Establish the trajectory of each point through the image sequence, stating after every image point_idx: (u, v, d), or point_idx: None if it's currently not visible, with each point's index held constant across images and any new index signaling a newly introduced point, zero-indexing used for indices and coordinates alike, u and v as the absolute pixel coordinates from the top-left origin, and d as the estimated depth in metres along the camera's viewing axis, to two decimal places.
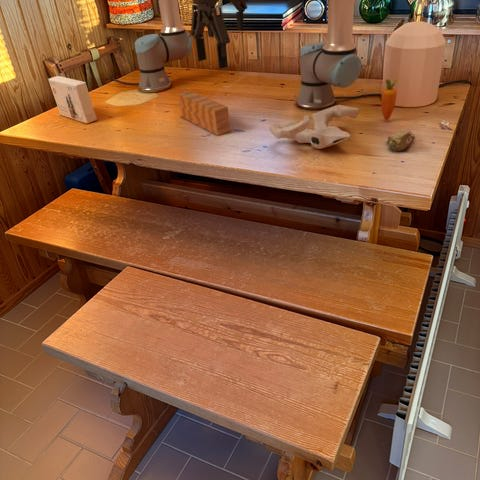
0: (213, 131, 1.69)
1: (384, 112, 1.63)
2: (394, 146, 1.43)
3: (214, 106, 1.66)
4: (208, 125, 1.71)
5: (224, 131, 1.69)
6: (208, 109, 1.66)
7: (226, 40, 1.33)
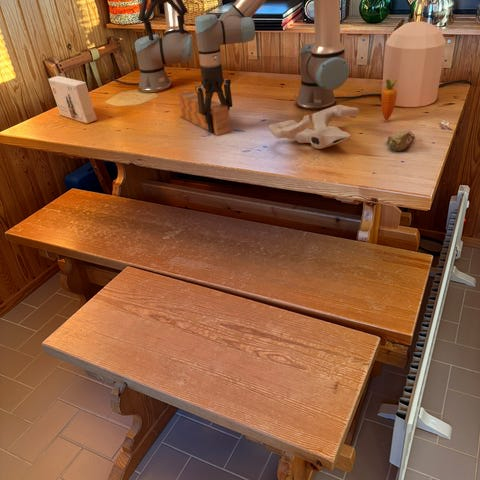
0: None
1: (384, 112, 1.63)
2: (394, 146, 1.43)
3: (214, 106, 1.66)
4: None
5: (224, 131, 1.69)
6: None
7: None
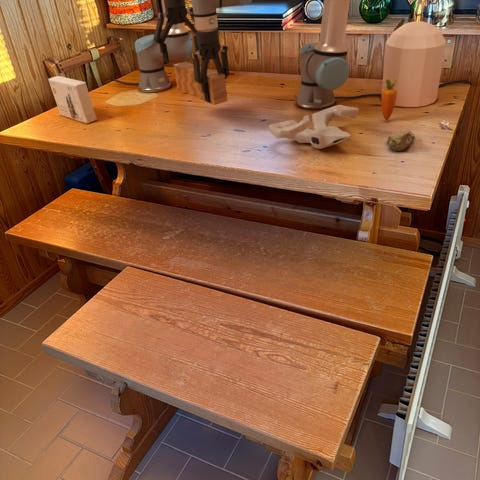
0: (210, 101, 1.63)
1: (384, 112, 1.63)
2: (394, 146, 1.43)
3: (210, 74, 1.60)
4: None
5: (221, 101, 1.62)
6: None
7: None
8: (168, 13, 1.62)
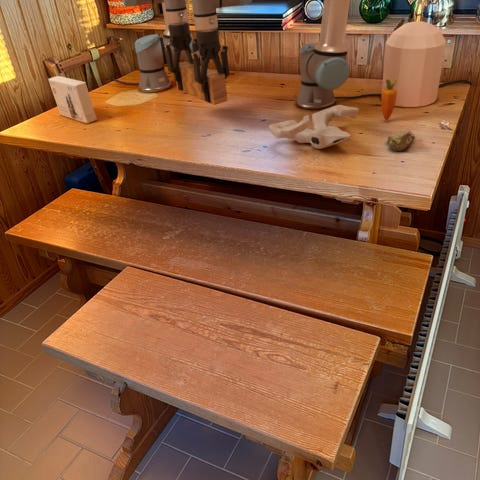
0: (210, 101, 1.63)
1: (384, 112, 1.63)
2: (394, 146, 1.43)
3: (210, 74, 1.60)
4: None
5: (221, 101, 1.62)
6: None
7: None
8: (173, 41, 1.67)
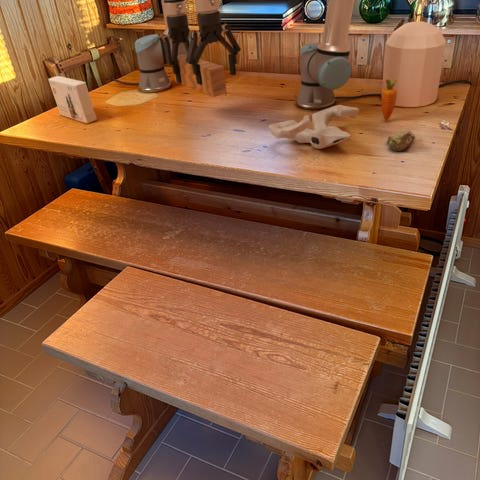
0: (209, 93, 1.62)
1: (384, 112, 1.63)
2: (394, 146, 1.43)
3: (209, 66, 1.59)
4: (203, 87, 1.64)
5: (220, 93, 1.61)
6: (203, 69, 1.58)
7: None
8: (171, 33, 1.65)
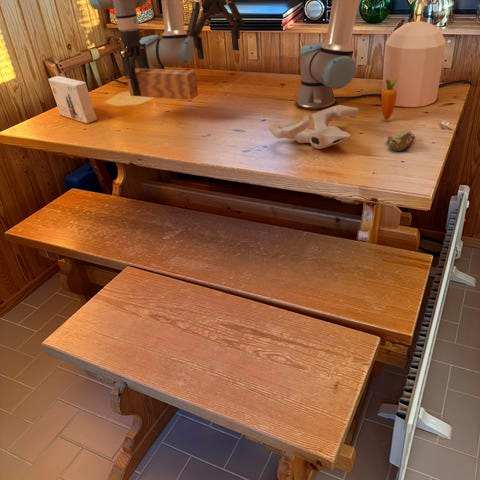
0: (184, 97, 1.72)
1: (384, 112, 1.63)
2: (394, 146, 1.43)
3: (181, 72, 1.70)
4: (175, 93, 1.73)
5: (194, 95, 1.74)
6: (177, 75, 1.69)
7: None
8: (128, 48, 1.70)
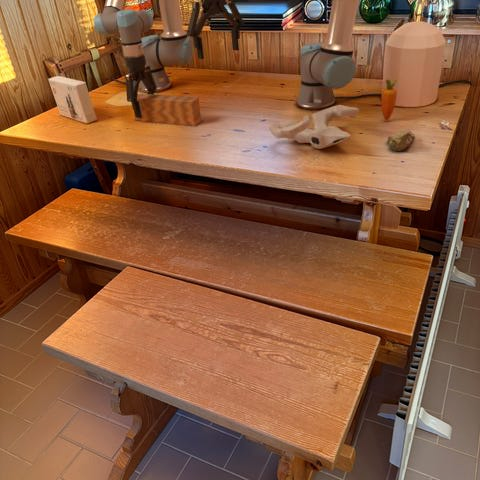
0: (188, 123, 1.78)
1: (384, 112, 1.63)
2: (394, 146, 1.43)
3: (185, 99, 1.76)
4: (179, 119, 1.79)
5: (198, 121, 1.80)
6: (181, 103, 1.75)
7: None
8: (134, 72, 1.75)
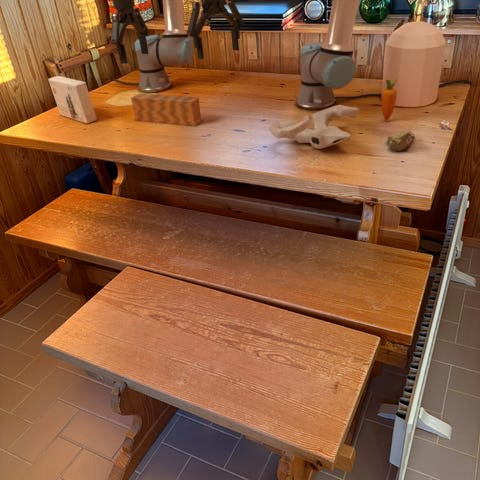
0: (188, 123, 1.78)
1: (384, 112, 1.63)
2: (394, 146, 1.43)
3: (185, 99, 1.76)
4: (179, 119, 1.79)
5: (198, 121, 1.80)
6: (181, 103, 1.75)
7: None
8: (122, 14, 1.64)
